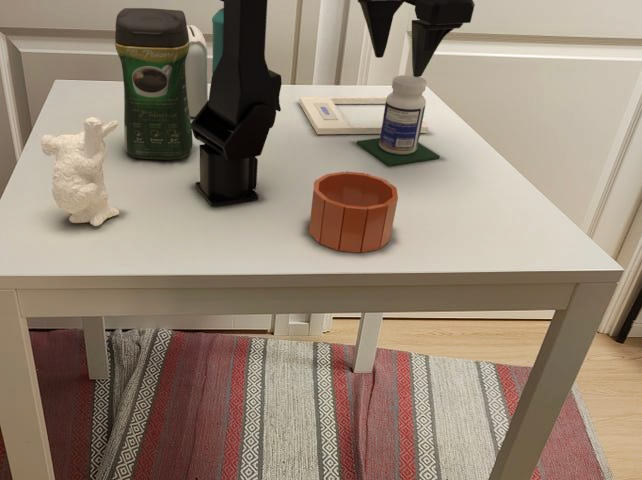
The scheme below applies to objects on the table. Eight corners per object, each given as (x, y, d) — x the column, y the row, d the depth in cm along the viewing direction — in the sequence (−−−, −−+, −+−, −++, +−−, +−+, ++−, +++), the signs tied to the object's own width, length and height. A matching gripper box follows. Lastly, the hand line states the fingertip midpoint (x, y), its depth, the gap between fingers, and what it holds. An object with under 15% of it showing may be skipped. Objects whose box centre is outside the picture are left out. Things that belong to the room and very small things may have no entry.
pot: (334, 258, 74) (340, 214, 70) (295, 220, 80) (299, 178, 77) (404, 243, 77) (414, 200, 73) (362, 208, 84) (368, 167, 80)
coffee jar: (194, 142, 98) (192, 4, 86) (189, 164, 92) (186, 18, 80) (130, 139, 98) (118, 0, 86) (120, 160, 92) (107, 14, 80)
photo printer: (175, 98, 113) (172, 19, 105) (200, 97, 114) (199, 18, 106) (183, 119, 105) (181, 35, 97) (210, 118, 106) (209, 35, 98)
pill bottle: (390, 138, 102) (402, 71, 95) (423, 148, 99) (437, 80, 93) (371, 148, 98) (382, 79, 92) (404, 159, 96) (418, 88, 89)
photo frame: (299, 96, 113) (399, 95, 115) (299, 102, 113) (398, 102, 116) (318, 127, 102) (428, 125, 104) (317, 134, 102) (426, 132, 105)
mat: (388, 166, 94) (389, 163, 94) (356, 143, 100) (356, 141, 100) (439, 158, 97) (440, 155, 97) (405, 136, 104) (405, 134, 103)
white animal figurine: (129, 206, 81) (120, 108, 74) (123, 233, 76) (113, 130, 68) (60, 205, 81) (44, 106, 73) (49, 231, 76) (30, 128, 68)
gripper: (526, -58, 76) (488, 82, 85) (430, -79, 88) (407, 45, 98) (449, -58, 72) (418, 89, 82) (360, -80, 85) (343, 49, 94)
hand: (397, 66), depth 89 cm, fingers open, 9 cm apart
